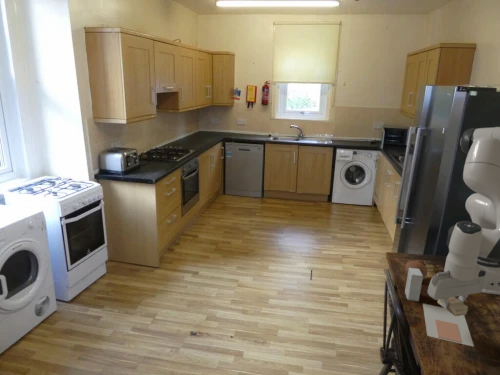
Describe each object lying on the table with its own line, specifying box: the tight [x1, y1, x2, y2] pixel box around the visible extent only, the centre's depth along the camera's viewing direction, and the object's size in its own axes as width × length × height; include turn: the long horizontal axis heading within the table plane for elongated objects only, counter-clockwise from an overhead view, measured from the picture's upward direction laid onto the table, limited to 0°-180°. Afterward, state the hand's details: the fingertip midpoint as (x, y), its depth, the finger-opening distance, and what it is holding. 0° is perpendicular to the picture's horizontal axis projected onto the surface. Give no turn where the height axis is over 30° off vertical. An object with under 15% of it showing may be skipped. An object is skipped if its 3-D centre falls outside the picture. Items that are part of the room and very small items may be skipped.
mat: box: [422, 303, 475, 347], centre depth 128 cm, size 14×20×1 cm
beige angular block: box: [437, 297, 469, 316], centre depth 121 cm, size 8×4×3 cm, turn 15°
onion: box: [403, 259, 428, 282], centre depth 157 cm, size 10×9×10 cm
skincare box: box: [404, 268, 423, 302], centre depth 143 cm, size 6×4×12 cm
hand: (452, 305), depth 121 cm, fingers closed on beige angular block, 4 cm apart
